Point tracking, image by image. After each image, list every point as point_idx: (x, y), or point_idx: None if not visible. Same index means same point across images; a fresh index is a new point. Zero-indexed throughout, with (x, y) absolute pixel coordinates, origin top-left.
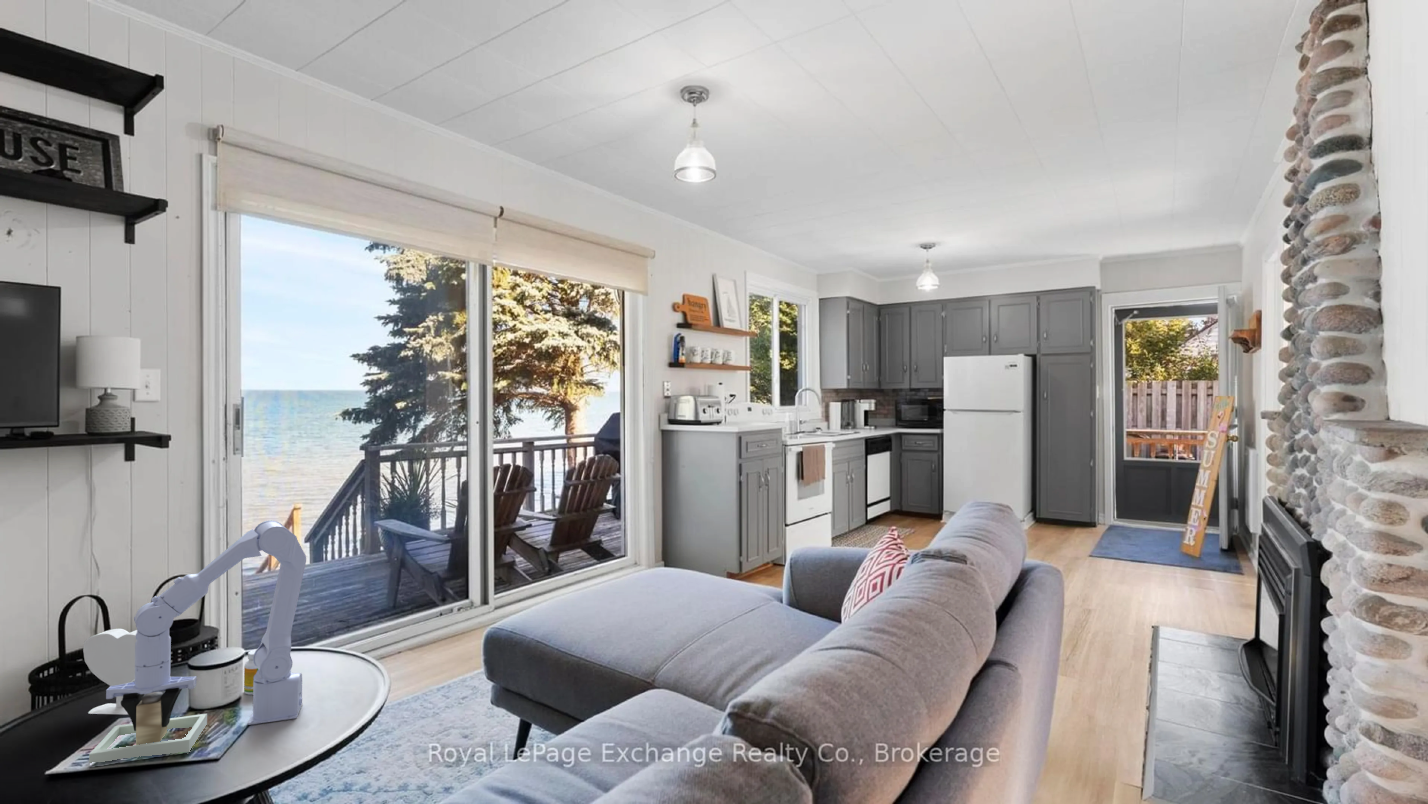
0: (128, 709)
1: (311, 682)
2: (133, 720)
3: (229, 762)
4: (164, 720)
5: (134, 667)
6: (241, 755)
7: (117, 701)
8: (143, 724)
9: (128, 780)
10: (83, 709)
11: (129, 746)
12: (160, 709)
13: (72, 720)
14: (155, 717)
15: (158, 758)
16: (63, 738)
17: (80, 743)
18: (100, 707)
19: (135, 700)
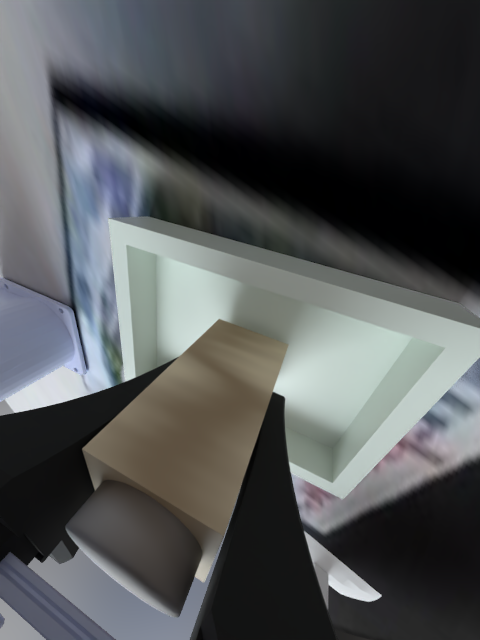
0: (286, 536)
1: None
2: (276, 436)
3: (12, 34)
4: (167, 365)
5: None
6: (7, 90)
7: (325, 590)
8: (240, 386)
9: (324, 20)
10: (386, 611)
11: (307, 298)
12: (127, 408)
13: (418, 599)
14: (178, 385)
15: (226, 231)
16: (465, 553)
17: (432, 498)
18: (355, 593)
19: (207, 620)
